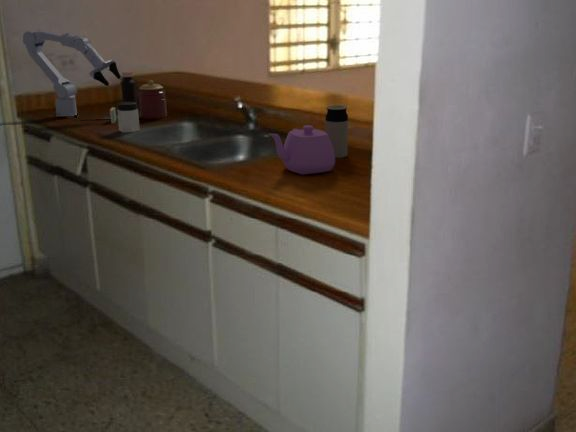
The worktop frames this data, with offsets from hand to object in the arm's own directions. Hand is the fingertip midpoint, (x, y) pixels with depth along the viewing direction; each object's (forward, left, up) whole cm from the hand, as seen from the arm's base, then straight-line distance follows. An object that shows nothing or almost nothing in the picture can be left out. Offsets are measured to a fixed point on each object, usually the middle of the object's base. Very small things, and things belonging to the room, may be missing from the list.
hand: (114, 81), depth 320 cm
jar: (+8, -32, -18) cm, 38 cm away
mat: (-8, +4, -17) cm, 19 cm away
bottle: (+5, +14, -18) cm, 23 cm away
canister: (+17, -1, -18) cm, 25 cm away
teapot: (+73, -113, -18) cm, 136 cm away
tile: (-1, -9, -17) cm, 20 cm away
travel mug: (+87, -95, -18) cm, 130 cm away
